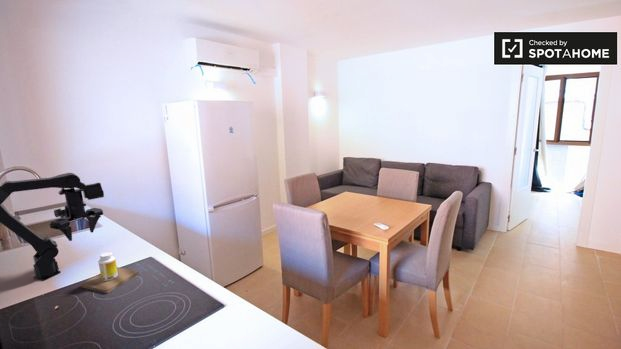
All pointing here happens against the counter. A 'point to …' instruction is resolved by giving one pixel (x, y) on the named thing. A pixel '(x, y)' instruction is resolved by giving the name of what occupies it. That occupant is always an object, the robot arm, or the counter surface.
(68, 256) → the counter surface
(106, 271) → the supplement bottle
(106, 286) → the board
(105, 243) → the counter surface
